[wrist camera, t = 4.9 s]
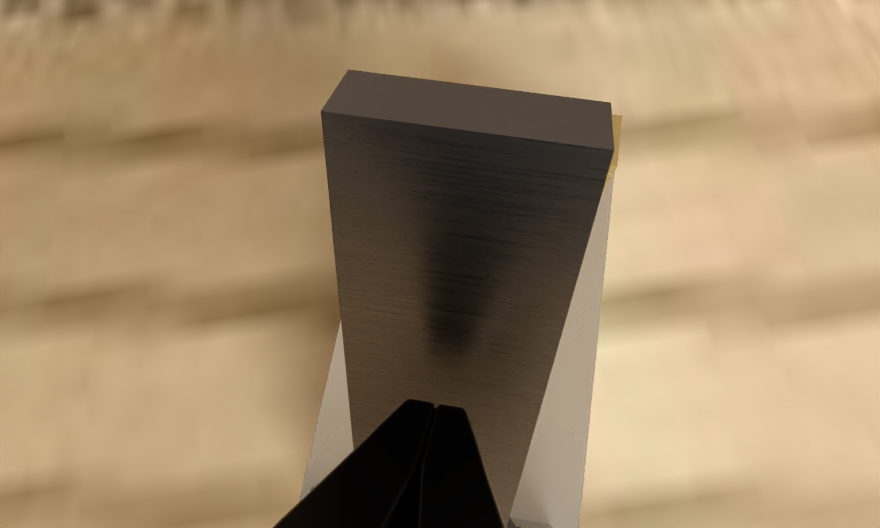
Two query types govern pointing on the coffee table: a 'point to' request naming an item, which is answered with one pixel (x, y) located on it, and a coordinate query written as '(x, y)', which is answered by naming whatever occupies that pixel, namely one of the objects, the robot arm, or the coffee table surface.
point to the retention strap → (459, 248)
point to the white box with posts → (562, 411)
